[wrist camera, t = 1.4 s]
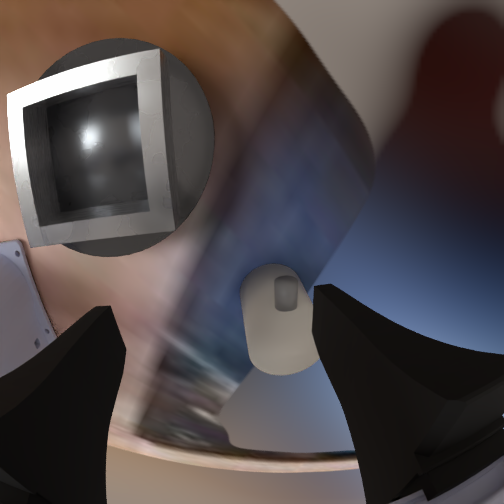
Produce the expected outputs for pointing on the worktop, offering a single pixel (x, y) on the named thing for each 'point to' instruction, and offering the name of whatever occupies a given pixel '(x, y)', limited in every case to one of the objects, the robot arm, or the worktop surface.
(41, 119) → the square tube on disc
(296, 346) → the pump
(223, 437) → the worktop surface
